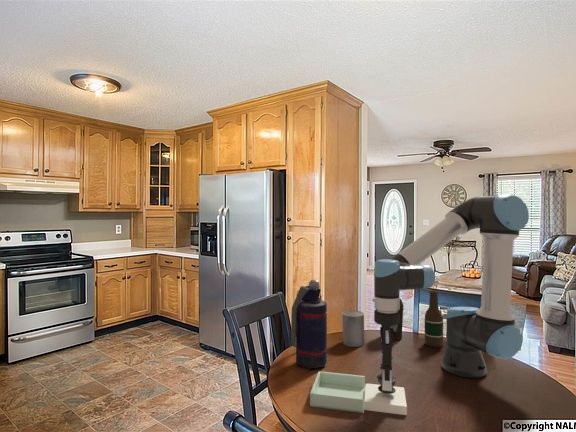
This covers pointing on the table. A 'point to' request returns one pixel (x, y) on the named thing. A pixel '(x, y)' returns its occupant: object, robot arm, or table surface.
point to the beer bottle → (433, 322)
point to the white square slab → (385, 400)
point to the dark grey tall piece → (381, 382)
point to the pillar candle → (353, 328)
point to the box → (338, 392)
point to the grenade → (309, 328)
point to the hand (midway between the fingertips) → (386, 384)
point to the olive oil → (398, 328)
